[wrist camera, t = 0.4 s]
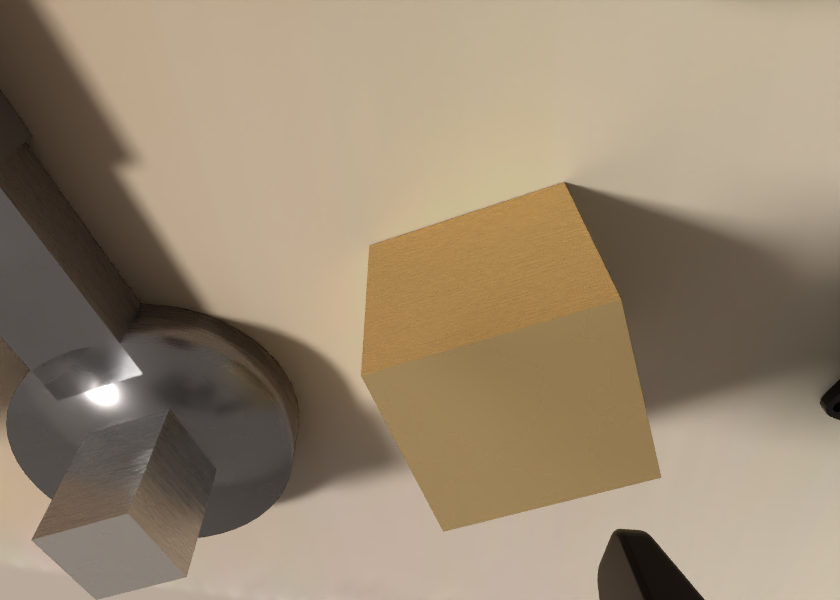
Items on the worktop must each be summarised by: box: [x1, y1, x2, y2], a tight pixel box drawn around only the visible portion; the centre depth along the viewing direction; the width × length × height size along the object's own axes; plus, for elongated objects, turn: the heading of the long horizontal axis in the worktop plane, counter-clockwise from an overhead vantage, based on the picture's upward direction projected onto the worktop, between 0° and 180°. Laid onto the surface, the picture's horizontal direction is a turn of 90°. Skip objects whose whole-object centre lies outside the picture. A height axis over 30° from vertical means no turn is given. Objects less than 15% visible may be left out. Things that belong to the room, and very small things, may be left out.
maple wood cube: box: [361, 182, 661, 532], centre depth 19 cm, size 6×6×6 cm
